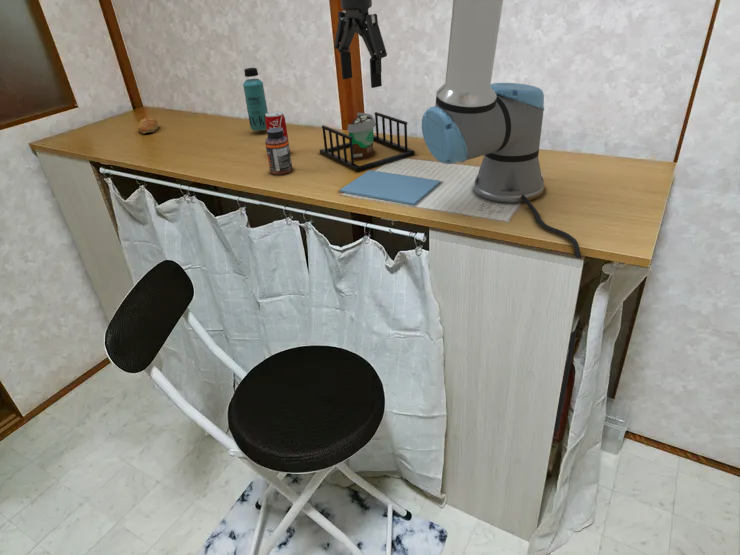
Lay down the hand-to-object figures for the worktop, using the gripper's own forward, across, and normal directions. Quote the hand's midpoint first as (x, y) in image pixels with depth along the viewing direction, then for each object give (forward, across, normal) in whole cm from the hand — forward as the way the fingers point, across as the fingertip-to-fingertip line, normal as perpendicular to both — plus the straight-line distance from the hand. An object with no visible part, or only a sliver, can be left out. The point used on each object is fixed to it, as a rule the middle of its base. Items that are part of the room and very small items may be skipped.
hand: (361, 82), depth 138 cm
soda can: (+20, +18, +18) cm, 32 cm away
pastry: (+21, +76, +40) cm, 89 cm away
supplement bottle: (+20, +5, +24) cm, 31 cm away
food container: (+20, 0, 0) cm, 20 cm away
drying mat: (+19, -24, +9) cm, 32 cm away
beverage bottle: (+21, +43, +12) cm, 49 cm away
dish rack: (+19, 0, 0) cm, 19 cm away
